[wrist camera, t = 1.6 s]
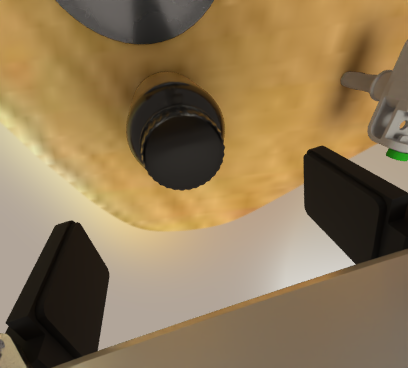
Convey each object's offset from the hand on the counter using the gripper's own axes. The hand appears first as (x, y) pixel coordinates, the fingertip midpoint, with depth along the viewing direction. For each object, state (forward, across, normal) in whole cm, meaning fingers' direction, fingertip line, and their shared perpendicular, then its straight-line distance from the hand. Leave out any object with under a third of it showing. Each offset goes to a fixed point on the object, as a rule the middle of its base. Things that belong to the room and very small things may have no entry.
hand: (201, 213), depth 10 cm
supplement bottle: (+17, 0, -1) cm, 17 cm away
